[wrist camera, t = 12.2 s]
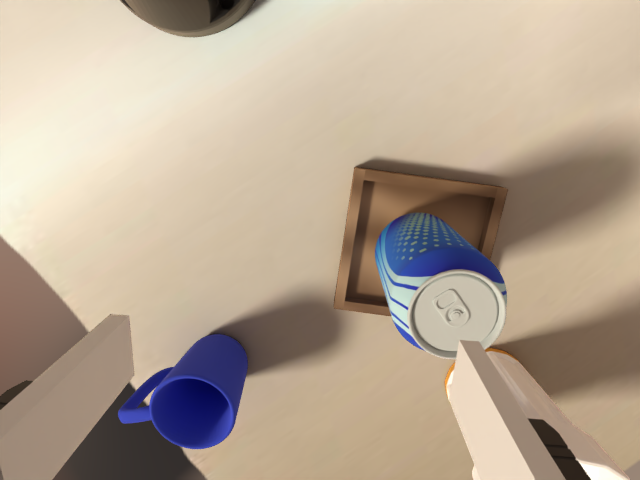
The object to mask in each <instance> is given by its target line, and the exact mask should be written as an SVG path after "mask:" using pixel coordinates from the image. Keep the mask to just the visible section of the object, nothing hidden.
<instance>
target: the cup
mask: <svg viewBox="0 0 640 480" xmlns="http://www.w3.org/2000/svg"><path fill="white" fill-rule="evenodd" d="M485 352H486V353H487V355H488V356H489V358H490V360H491V361H492V363H493V364H494V366H495V368H496V369H497V371H498V372H499V374H500V376H501V377H502V379H503V380H504V382H505V383H506V385H507V387H508V388H509V390H510V391H511V393H512V395H513V396H514V398H515V399H516V401H517V403H518V404H519V406H520V407H521V409H522V411H523V412H524V414H525V415H526V417H527V418H530V419H543V420H544V421H545V422H547V423H548V424H549V425H550V426H551V427H553V428H554V429H555V430H556V431H557V432H558V433H559V434H560V436H561V437H562V439H563V440H564V441H565V443H566V444H567V446H568V449H570V450H571V451H572V453H573V454H574V456H575V457H576V460H578V461H579V463H580V464H581V466H582V467H583V469H584V470H585V472H586V473H587V474H588V476H589V477H590V479H591V480H630V478H629V477H628V476H627V475H626V474H625V473H624V471H623V470H622V469H621V468H620V467H619V466H618V465H617V464H616V463H615V461H614V460H613V459H612V458H611V457H610V456H609V455H608V454H607V452H606V451H605V450H604V449H603V448H602V447H601V446H600V445H599V443H598V442H597V441H596V440H595V439H594V438H593V437H592V436H590V435H589V434H587V433H585V432H584V431H582V430H581V429H579V428H578V427H576V426H575V425H573V424H572V423H571V422H570V420H569V419H568V418H567V417H566V416H565V415H564V413H563V412H562V411H561V410H560V409H559V408H558V406H557V405H556V404H555V403H554V402H553V401H552V399H551V398H550V397H549V396H548V395H547V394H546V392H545V391H544V390H543V389H542V388H541V387H540V385H539V384H538V383H537V382H536V381H535V380H534V378H533V377H532V376H531V375H530V374H529V373H528V372H527V370H526V369H525V368H524V367H523V366H522V365H521V363H520V362H519V361H518V360H517V359H516V358H515V357H513V356H512V355H510V354H509V353H507V352H505V351H502V350H498V349H494V348H487V349H486V350H485ZM455 362H456V361H455ZM454 367H455V363H454V364H453V365H452V366H451V368H450V369H449V371H448V374H447V377H446V380H445V388H446V393H447V396H448V399H449V395H450V389H451V384H452V378H453V373H454ZM472 475H473V480H480V477H479V475H478V472H477V470H476V467H475V466H474V468H473V471H472Z"/></svg>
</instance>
